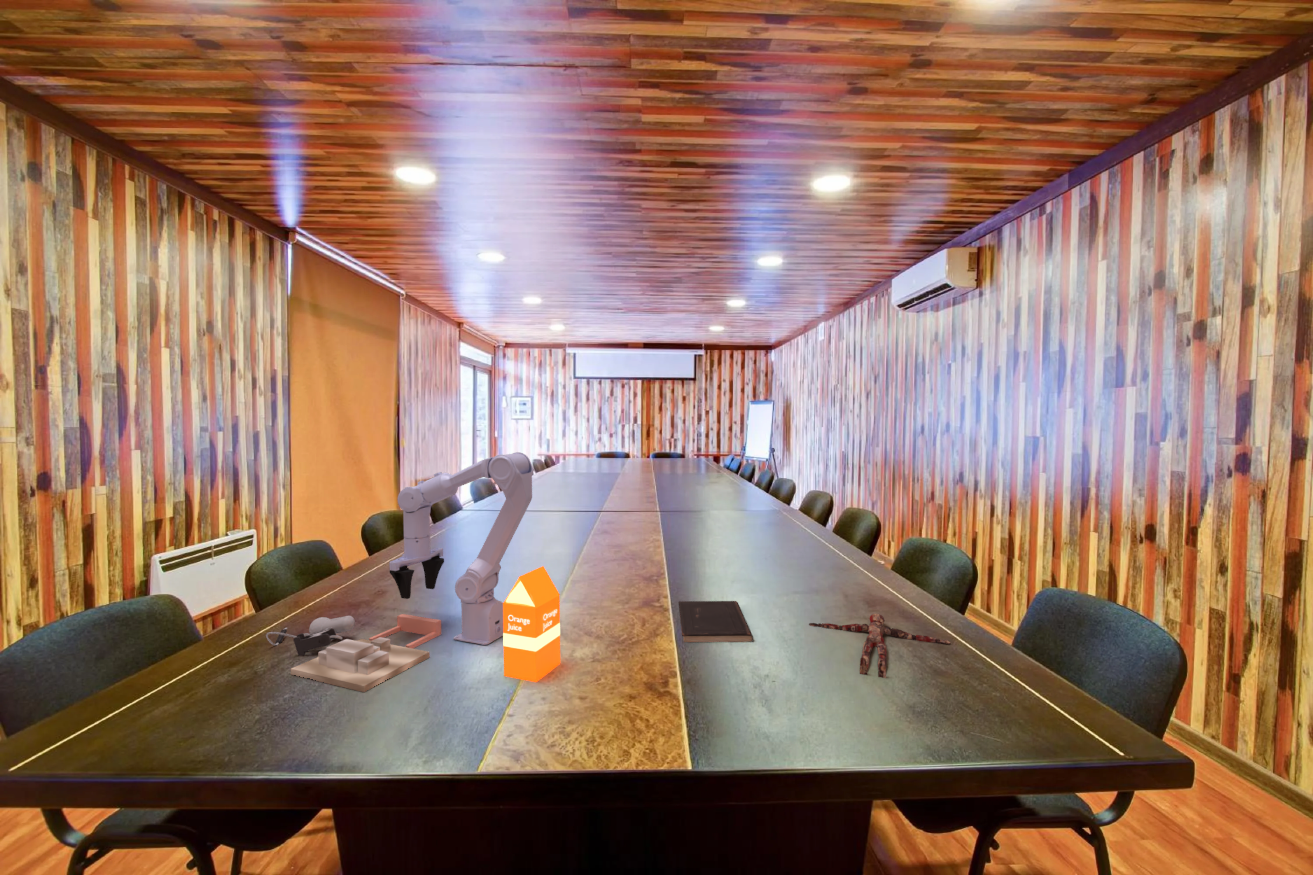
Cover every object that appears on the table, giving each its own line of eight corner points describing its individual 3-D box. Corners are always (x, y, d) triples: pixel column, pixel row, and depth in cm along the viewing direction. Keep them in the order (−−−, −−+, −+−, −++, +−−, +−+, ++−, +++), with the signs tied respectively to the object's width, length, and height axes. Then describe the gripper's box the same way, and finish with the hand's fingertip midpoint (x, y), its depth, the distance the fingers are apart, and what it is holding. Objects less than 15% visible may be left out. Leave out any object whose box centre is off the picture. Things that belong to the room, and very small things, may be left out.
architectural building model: (361, 643, 123) (360, 621, 123) (429, 657, 115) (429, 633, 115) (290, 674, 108) (290, 648, 108) (364, 692, 101) (363, 664, 100)
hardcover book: (682, 644, 122) (682, 634, 122) (678, 609, 145) (678, 601, 145) (753, 644, 122) (753, 634, 122) (738, 609, 145) (738, 600, 145)
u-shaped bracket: (402, 627, 132) (402, 613, 132) (441, 634, 128) (441, 620, 128) (369, 642, 124) (368, 627, 123) (409, 650, 119) (408, 634, 119)
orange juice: (503, 675, 107) (501, 575, 106) (529, 657, 115) (528, 563, 114) (537, 682, 104) (535, 579, 103) (561, 663, 112) (560, 567, 111)
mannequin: (772, 640, 125) (772, 621, 125) (847, 612, 142) (847, 596, 141) (878, 685, 103) (878, 663, 103) (951, 646, 120) (951, 627, 120)
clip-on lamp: (255, 667, 118) (329, 653, 116) (246, 640, 118) (320, 625, 115) (296, 640, 130) (364, 627, 128) (288, 616, 129) (356, 601, 127)
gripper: (427, 529, 137) (428, 582, 137) (378, 541, 124) (380, 600, 124) (449, 531, 134) (450, 585, 135) (402, 543, 121) (403, 604, 121)
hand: (418, 593), depth 129 cm, fingers open, 7 cm apart
